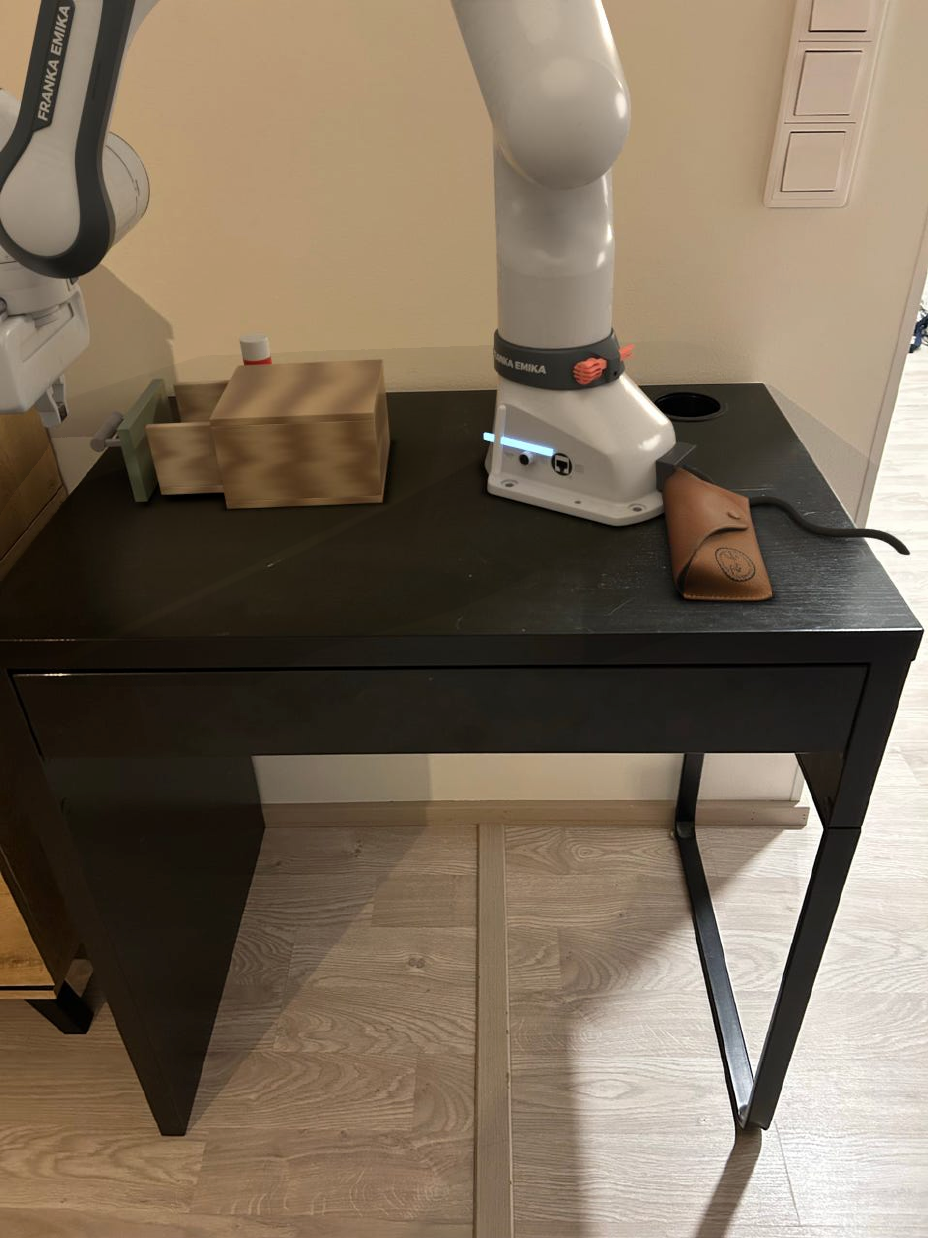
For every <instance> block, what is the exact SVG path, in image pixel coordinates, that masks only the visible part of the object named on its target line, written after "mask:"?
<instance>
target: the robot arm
mask: <svg viewBox="0 0 928 1238" xmlns="http://www.w3.org/2000/svg"><path fill="white" fill-rule="evenodd" d="M160 1H161V0H40V4H39V9H38V14H37V19H36V25H35V30H34V35H33V40H32V46H31V51H30V54H29V61H28V66H27V72H26V76H25V81H24V85H23V91H22V97H21V100H20V99H19V98H17V97H16V96H14V95H13V94H12V93H11V92H10V91H8V90H7V89H5V88H2V87H0V415H3V416H5V415H7V416H8V415H21V414H25V413H27V412H29V410H30V409H31V408H32V407H34V409H35V410H36V412H38V415H39V418H40V422H41V424H42V426H43V427H44V428H47V429H48V428H49V429H50V428H59V427H60V425H62V423H63V422H64V421H65V419H66V418H68V416H69V415H70V411H69V408H68V405H67V379H66V375H65V372H66V371H67V370H68V369H69V368H70V367H71V366H72V364H73V363H75V361H77V360H78V358H79V357H80V356H81V355H82V354H83V353H84V352H85V351H86V350H87V349H88V348H89V346H90V338H91V337H90V336H91V334H90V333H91V332H90V325H89V320H88V315H87V310H86V304H85V300H84V295H83V292H82V290H81V287H80V285H79V284H78V282H79V281H80V280H81V278H82V276H85V275H87V274H89V273H90V272H92V271H93V270H94V269H96V268H97V267H98V266H99V264H101V262H103V260H104V259H105V257H106V256H107V254H108V253H109V252H110V250H111V249H112V248H113V247H114V246H116V245H117V244H118V243H119V242H120V241H122V240H123V238H125V237H126V236H127V235H128V233H130V232H131V231H132V230H133V229H134V228H135V227H136V226H137V224H138V223H139V222H140V221H141V220H142V219H143V217H144V215H145V213H146V212H147V209H148V206H149V202H150V196H151V195H150V194H151V191H150V181H149V176H148V173H147V170H146V168H145V165H144V163H143V161H142V159H141V157H140V156H139V155H138V153H137V152H136V151H135V150H134V148H133V147H132V146H131V145H130V144H129V143H128V142H127V141H126V140H124V139H123V138H122V137H120V136H119V135H118V134H116V133H114V132H112V131H110V130H111V124H112V121H113V116H114V112H115V107H116V102H117V98H118V93H119V89H120V86H121V85H120V84H121V81H122V80H121V79H122V75H123V71H124V67H125V63H126V59H127V56H128V52H129V50H130V47H131V45H132V42H133V41H134V38H135V36H136V35H137V32H138V30H139V28H140V27H141V26H142V24H143V22H144V20H145V19H146V18H147V17H148V15H149V14H150V12H151V11H152V10H153V9H154V8H155V7H156V6H157V4H158V3H159V2H160ZM449 1H450V4H451V8H452V11H453V14H454V17H455V19H456V22H457V26H458V28H459V31H460V34H461V37H462V40H463V43H464V46H465V49H466V51H467V54H468V57H469V62H470V63H471V66H472V70H473V72H474V75H475V79H476V81H477V84H478V87H479V90H480V93H481V96H482V98H483V99H482V100H483V101H484V104H485V108H486V110H487V113H488V116H489V119H490V122H491V125H492V157H493V158H492V160H493V189H494V191H493V193H494V194H493V195H494V218H495V219H494V221H495V223H494V225H495V254H496V255H495V256H496V257H495V259H496V260H495V261H496V299H497V300H496V301H497V302H496V303H497V307H496V308H497V309H496V310H497V328H496V329H495V330H494V333H493V348H492V356H493V369H494V371H495V373H497V386H496V397H495V408H494V416H493V423H492V431H491V433H489V432H484V433H483V440H486V441H489V446H488V450H487V453H486V456H485V460H484V467H485V471H486V473H487V474H488V478H487V487H486V489H487V492H488V493H489V494H491V495H493V496H498V497H500V498H501V497H502V498H505V499H509V500H513V501H517V502H521V503H524V504H528V505H532V506H536V507H540V508H542V509H544V508H545V509H547V510H551V511H555V512H559V513H563V514H567V515H570V516H575V517H578V518H582V519H586V520H589V521H593V522H597V523H600V524H605V525H609V526H614V527H623V526H629V525H633V524H634V525H635V524H638V523H642V522H645V521H649V520H651V519H654V518H656V517H658V516H660V515H662V514H665V512H664V505H663V499H662V486H663V484H664V482H665V481H666V480H667V479H668V478H669V477H670V476H672V475H673V474H674V472H675V470H676V469H677V468H682V469H683V470H686V471H688V472H689V473H691V474H693V475H694V476H696V477H697V478H699V479H701V480H703V481H705V482H708V483H710V484H712V485H715V486H717V484H716V482H715V480H714V479H712V478H711V476H709V475H708V474H706V473H705V472H703V471H701V470H699V469H698V468H695V464H696V453H697V445H696V444H694V443H689V442H684V441H680V440H679V441H677V440H676V432H675V428H674V425H673V423H672V421H671V420H670V419H669V418H668V417H667V415H665V414H664V413H663V412H662V411H661V410H660V408H658V407H657V405H656V404H654V403H653V401H652V400H651V399H650V398H649V397H648V396H647V395H646V394H645V393H644V392H643V391H642V389H641V388H640V387H639V386H638V385H637V384H636V382H634V380H633V379H632V378H631V377H630V376H629V375H628V374H627V373H626V372H625V370H626V365H625V362H624V360H626V359H628V358H631V357H633V356H635V353H633V352H632V353H631V351H632V350H633V349H634V348H635V345H634V344H633V343H632V344H629V345H627V346H625V347H623V348H621V347H620V344H619V340H618V337H617V333H616V331H615V329H614V327H613V326H612V321H613V298H614V279H615V259H616V238H615V226H614V225H615V223H614V201H613V198H614V197H613V196H614V195H613V165H614V164H615V163H616V162H617V160H618V158H619V157H620V155H621V154H622V152H623V149H624V147H625V145H626V143H627V139H628V136H629V132H630V129H631V123H632V122H631V121H632V99H631V94H630V89H629V86H628V82H627V79H626V75H625V73H624V69H623V66H622V63H621V59H620V55H619V52H618V50H617V46H616V43H615V40H614V37H613V33H612V31H611V27H610V24H609V21H608V18H607V15H606V11H605V8H604V6H603V2H602V0H449ZM747 498H748V500H749V507H753V506H754V507H755V506H760V505H761V506H762V505H763V506H764V505H768V506H769V505H770V506H774V507H776V508H779V509H782V510H784V511H785V512H786V513H787V514H788V515H789V516H790V517H791V518H792V520H793V521H794V522H795V523H796V524H797V525H798V526H799V527H801V529H802V528H803V529H804V530H805V531H807V532H809V533H812V534H814V535H817V536H821V537H827V538H837V539H838V538H841V539H843V538H847V539H848V538H864V539H865V538H866V539H873V540H877V541H881V542H883V543H885V544H888V545H889V546H890V547H892V548H893V549H894V550H895V551H896V552H897V553H898V554H899V555H903V556H910V555H911V552H910V550H909V549H908V547H907V546H906V545H905V544H904V542H902V541H901V540H900V539H899V538H897V537H896V536H895V535H892V534H890V533H889V532H886V531H883V530H880V529H874V528H863V527H862V528H858V527H857V528H835V527H826V526H821V525H819V524H818V525H817V524H815V523H813V522H811V521H809V520H807V519H806V518H805V517H804V516H803V514H802V513H801V512H800V511H799V510H798V509H797V508H796V507H795V506H794V505H793V504H792V503H790V502H788V501H787V500H785V499H782V498H780V497H778V496H777V497H776V496H770V495H760V496H753V497H747Z"/></svg>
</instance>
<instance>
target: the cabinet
mask: <svg viewBox="0 0 928 1238" xmlns="http://www.w3.org/2000/svg"><path fill="white" fill-rule="evenodd" d="M384 369H385V368H384V361H383V359H381V358H379V359H361V360H360V359H358V360H336V361H335V360H334V361H333V360H332V361H312V362H311V361H310V362H290V363H289V362H288V363H287V362H286V363H272V364H263V365H244V364H241V365H237V366H236V368H235V370H234V372H233V373H232V376H231V377H230V379H229V380H230V381H229V383H228V385H227V387H226V389H225V390H224V392H223V394H222V396H221V398H220V400H219V402H218V403H217V405H216V407H215V409H214V411H213V413H212V415H211V417H210V418H209V421H210V426H211V431H212V436H213V441H214V446H215V451H216V456H217V460H218V465H219V470H220V475H221V480H222V485H223V490H224V492H223V494H224V499H225V505H226V509H227V510H234V509H236V510H237V509H254V508H255V509H258V508H259V509H260V508H283V507H305V506H307V507H309V506H310V507H311V506H332V505H357V504H358V505H359V504H379V503H380V504H381V503H383V501H384V499H383V498H384V493H385V492H384V491H385V485H386V484H385V483H386V477H387V476H386V475H387V468H388V463H389V461H388V460H389V454H390V447H391V446H390V445H391V437H390V435H391V434H390V427H389V425H390V424H389V415H388V414H389V413H388V405H387V404H388V403H387V394H386V393H387V391H386V381H385V371H384Z"/></svg>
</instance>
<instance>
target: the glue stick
mask: <svg viewBox="0 0 928 1238" xmlns="http://www.w3.org/2000/svg"><path fill="white" fill-rule="evenodd" d="M238 341H239V346H240V350H241V356H242V362H243V363H242V364H243V365H263V364H273V361H272V356H271V349H270V342H269V336H268V335H267V334H265V333H260V332H259V333H258V332H257V333H256V332H254V333H248V334H244V335H243V336H240V337H239V340H238Z"/></svg>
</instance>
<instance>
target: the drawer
mask: <svg viewBox="0 0 928 1238" xmlns="http://www.w3.org/2000/svg"><path fill="white" fill-rule="evenodd" d="M229 381H230V379H224V380H223V379H222V380H201V381H177V382H174V383H173V385H172V387H173V391H174V396H175V400H176V405H177V410H178V414H179V418H180V422H174V419H173V418H174V417H173V415H172V409H171V405H170V401H169V395H168V392H167V387H166V383H165V379H164V378H152V380H151V381H150V382H149V384H148V385H147V387H146V388H145V390H143V392H142V393H141V395H140V396H139V397H138V399H137V401H136V402H135V403H134V405H133V406H132V407H131V409H130V410H129V411H128V413H127V414H126V415H123V413H121V412H119V411H113V412H111V413H110V414H109V416H108V417H107V419H106V420H105V421H104V422H103V423H102V425H101V426H100V427H99V429H98V430H97V432H95V434H94V435H93V436H92V438H91V439H90V441H89V446H90V448H91V450H92V451H94V452H97V453H101V452H103V451H105V449H106V448H112V447H114V448H115V447H121V451H122V456H123V459H124V463H125V466H126V471H127V475H128V478H129V483H130V486H131V490H132V493H133V497H134V500H135V503H139V502H141V503H143V502H148V501H149V499H150V497H152V494H153V493H154V490H155V488H156V487H157V485H158V486H159V490H160V494H161V496H164V495H165V496H167V495H169V496H170V495H189V494H190V495H191V494H213V493H214V494H217V493H224V490H223V485H222V480H221V475H220V470H219V465H218V460H217V456H216V451H215V446H214V441H213V436H212V431H211V426H210V421H209V418H210V417H211V415H212V413H213V411H214V409H215V407H216V405H217V403H218V402H219V400H220V398H221V396H222V394H223V392H224V390H225V389H226V387H227V385H228V383H229ZM116 434H117V436H118V438H114V437H115V436H116Z"/></svg>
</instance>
